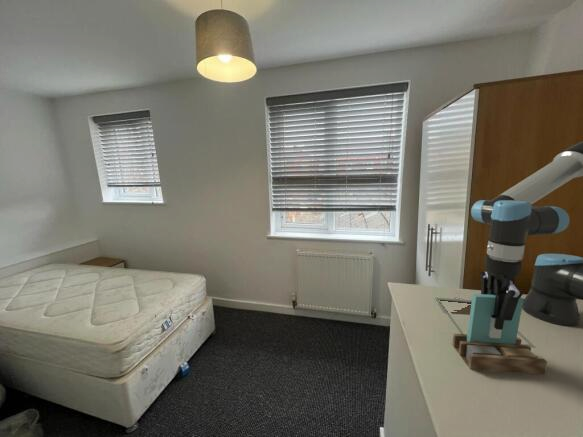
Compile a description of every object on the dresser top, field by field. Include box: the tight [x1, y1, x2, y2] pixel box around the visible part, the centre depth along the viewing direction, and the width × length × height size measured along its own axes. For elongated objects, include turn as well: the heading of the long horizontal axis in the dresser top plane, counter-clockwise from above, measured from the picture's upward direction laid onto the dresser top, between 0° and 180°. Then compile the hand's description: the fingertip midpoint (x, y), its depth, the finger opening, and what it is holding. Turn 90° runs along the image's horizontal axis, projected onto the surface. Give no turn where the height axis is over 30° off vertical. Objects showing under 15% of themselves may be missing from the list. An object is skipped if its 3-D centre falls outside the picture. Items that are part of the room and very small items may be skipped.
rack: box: [451, 333, 548, 376], centre depth 70 cm, size 18×9×5 cm, turn 83°
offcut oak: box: [500, 347, 538, 358], centre depth 67 cm, size 7×3×4 cm, turn 83°
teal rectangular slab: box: [466, 293, 524, 345], centre depth 71 cm, size 12×2×18 cm, turn 83°
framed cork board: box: [434, 296, 536, 349], centre depth 90 cm, size 19×2×30 cm
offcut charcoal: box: [466, 345, 502, 361], centre depth 69 cm, size 7×3×4 cm, turn 83°
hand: (491, 334), depth 71 cm, fingers closed on teal rectangular slab, 2 cm apart
